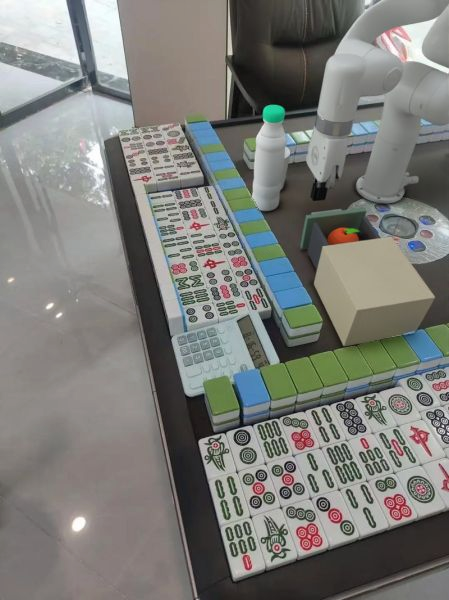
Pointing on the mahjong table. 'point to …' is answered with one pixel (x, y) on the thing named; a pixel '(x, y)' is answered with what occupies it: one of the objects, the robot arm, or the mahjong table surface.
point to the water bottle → (269, 159)
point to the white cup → (285, 166)
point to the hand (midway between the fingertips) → (317, 198)
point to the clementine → (342, 236)
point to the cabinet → (371, 290)
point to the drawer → (328, 221)
